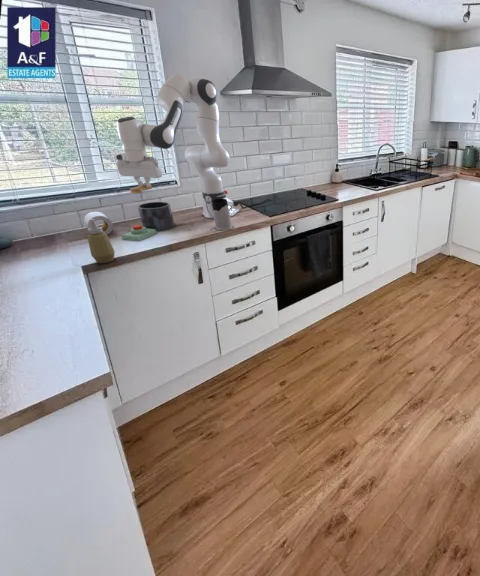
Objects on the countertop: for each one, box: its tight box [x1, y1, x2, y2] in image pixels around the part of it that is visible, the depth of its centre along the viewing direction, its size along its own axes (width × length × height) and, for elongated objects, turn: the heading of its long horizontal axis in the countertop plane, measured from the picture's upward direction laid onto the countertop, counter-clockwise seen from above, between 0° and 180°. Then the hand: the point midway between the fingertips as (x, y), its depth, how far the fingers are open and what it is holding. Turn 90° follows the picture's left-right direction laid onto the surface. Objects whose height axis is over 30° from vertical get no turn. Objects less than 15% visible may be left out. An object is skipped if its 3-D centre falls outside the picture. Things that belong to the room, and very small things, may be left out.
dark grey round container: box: [137, 201, 176, 232], centre depth 195 cm, size 15×15×12 cm
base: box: [121, 226, 157, 242], centre depth 184 cm, size 12×9×4 cm
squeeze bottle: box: [86, 219, 116, 264], centre depth 152 cm, size 8×8×18 cm
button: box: [132, 224, 143, 230], centre depth 182 cm, size 4×4×2 cm
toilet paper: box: [83, 211, 114, 236], centre depth 184 cm, size 10×10×10 cm
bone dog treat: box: [129, 182, 153, 194], centre depth 174 cm, size 11×4×2 cm, turn 170°
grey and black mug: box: [206, 199, 233, 231], centre depth 198 cm, size 9×14×15 cm, turn 68°
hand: (144, 186), depth 176 cm, fingers closed on bone dog treat, 2 cm apart
